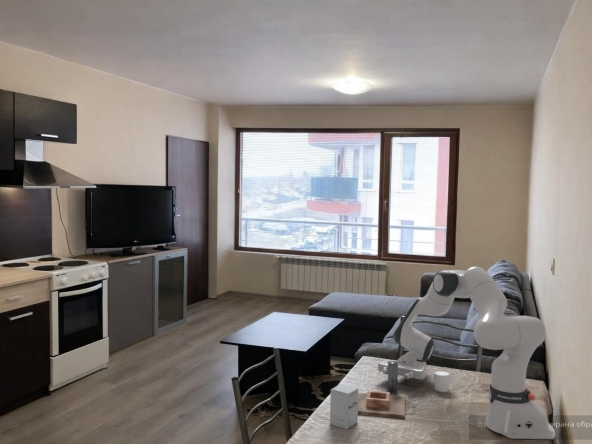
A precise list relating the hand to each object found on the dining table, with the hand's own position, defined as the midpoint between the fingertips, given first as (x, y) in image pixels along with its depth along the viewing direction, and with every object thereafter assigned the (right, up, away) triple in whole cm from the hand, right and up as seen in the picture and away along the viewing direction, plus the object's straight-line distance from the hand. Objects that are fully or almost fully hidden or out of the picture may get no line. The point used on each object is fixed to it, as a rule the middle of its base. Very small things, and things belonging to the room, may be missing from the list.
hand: (395, 374), depth 222 cm
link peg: (-2, -6, -2) cm, 7 cm away
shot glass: (+19, -7, +1) cm, 21 cm away
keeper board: (-10, -7, -17) cm, 21 cm away
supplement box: (-24, -8, -33) cm, 41 cm away
